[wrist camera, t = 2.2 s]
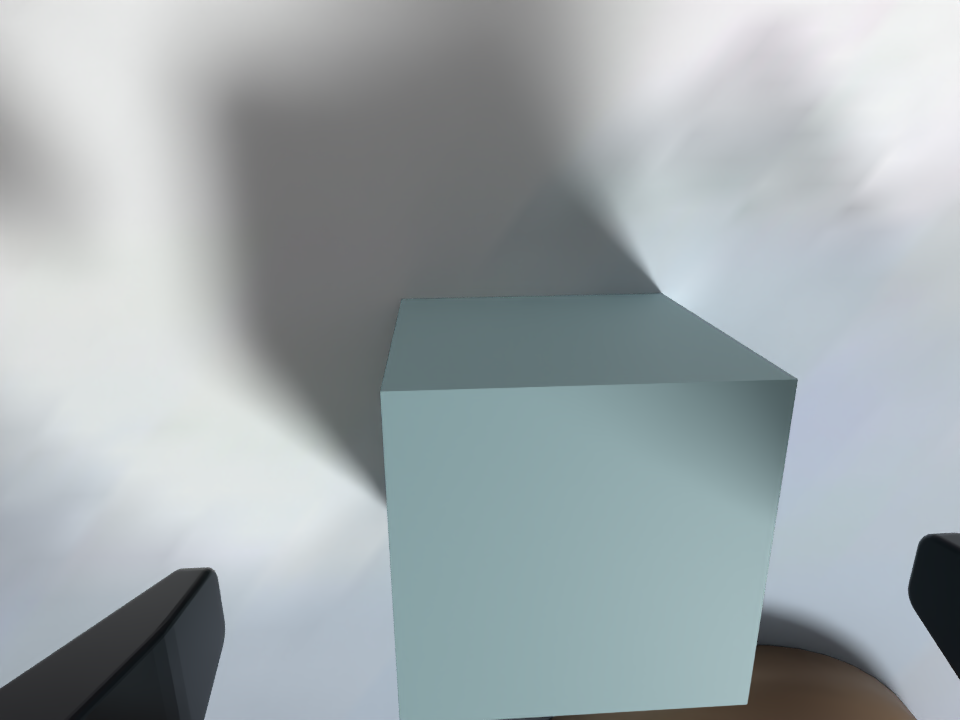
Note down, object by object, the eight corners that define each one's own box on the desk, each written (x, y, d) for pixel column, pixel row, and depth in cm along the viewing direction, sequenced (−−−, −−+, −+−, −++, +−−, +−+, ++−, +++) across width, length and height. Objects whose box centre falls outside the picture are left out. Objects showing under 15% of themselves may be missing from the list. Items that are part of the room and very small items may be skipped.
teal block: (412, 526, 14) (400, 725, 9) (401, 298, 12) (379, 391, 7) (642, 517, 14) (746, 704, 9) (660, 292, 12) (797, 379, 8)
